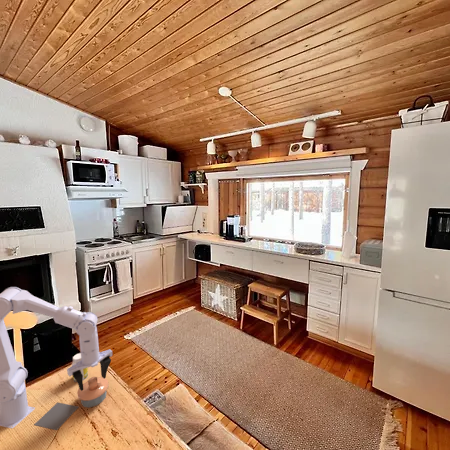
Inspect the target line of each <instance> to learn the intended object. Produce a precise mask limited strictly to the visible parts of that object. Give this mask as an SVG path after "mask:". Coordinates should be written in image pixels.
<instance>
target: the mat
mask: <svg viewBox="0 0 450 450" xmlns="http://www.w3.org/2000/svg"><path fill="white" fill-rule="evenodd" d="M78 408H79V406H78V405H77V406H76V405H72V404H68V403H62V402H56V403H55V404H54V405H52V407H51V408H50V409H49V410H48V411H47V412H45V414H43V416H41V417H40V418H39V419H38V420H37V421H36V422H35V423H34V424H33V425H34V426H37V427H41V428H45V429H50V430H53V431H58V430H59V429H60V428H61V427H62V426H63V424H65V422H66V421H67V420H68V419H69V418H70V417H71V416H72V415H73V414H74V412H76V410H77V409H78Z"/></svg>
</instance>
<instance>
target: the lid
mask: <svg viewBox="0 0 450 450" xmlns="http://www.w3.org/2000/svg"><path fill="white" fill-rule="evenodd" d="M108 388H109V380H108V379H107V378H105V379H104V378H103V377H102V376H101V377H97V376H93V377H90V378H89V379H88V380H87V381H85V382H83V390H82V391H81V390H80V388H79V387H78V389H77V397H78V399H79V400H80V401H81V400H83V401H89V400H93V399H96V398H98V397H100V396H101V395H102V394H104V393H105V392H107V390H108Z"/></svg>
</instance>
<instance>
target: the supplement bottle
mask: <svg viewBox="0 0 450 450" xmlns="http://www.w3.org/2000/svg"><path fill="white" fill-rule="evenodd" d="M80 360H81V352H79V353H76V354H75V355H74V356H72V362H71V366H73V365H75V364H76V363H77V362H79V361H80ZM88 368H89V367H88ZM88 368H84V369H82V370H80V371H81V373H82V375H83V381H84V380H86V379H87V378H88V377H89V369H88ZM72 380H73V382H75V383H77V381H76V379H75V378H74V377H73V376H72Z"/></svg>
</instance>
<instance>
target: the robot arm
mask: <svg viewBox="0 0 450 450" xmlns="http://www.w3.org/2000/svg"><path fill="white" fill-rule="evenodd" d="M11 311H12V314H13V315H15V314H18V313H21V312H25V311H30V312H32V313H33V312H34V313H36V314H37V313H38V314H40V315H44V316H47V317H50V318H52V319H53V320H54V323H55V324H59V325H62V326H64V327H67V328H70V329H73V330H74V331H75V332H76V334H77V335H78V336H79V338H78V340H79V349H80V353H81V360H80V361H79V362H77V363H76V364H75V365H73V366H72V365H71V366H69V367H68V368H67V369H66V371H67V375H68V376H69V377H71V376H72V378H73V377H74V378H75V379H76V381H77V382H76V383H77V384H78V389H79V388H80V390H81V391H82V390H83V384H84V380H83V375H82V373H81V371H80V370H82V369H84V368H95V367H97V366H98V365H100V374H101V378H104V379H107V371H108V370H109V369H108V368H109V366H110V365H111V363H112V359H111V357H112V356H113V350H111V348H110V349H107V350H104V351H100V347H99V345H100V344H99V336H98V327H97V324H98V321H99V319H98V316H97V314H96V313H94V312H91V311H87V312H86V311H83V312H82V311H80V310H77V309H74V306H71V305H69V306H67V305H63V306H61V307H59V306H57V305H55V304H53V303H50V302H48V301H45V300H44V299H41V298H39V297H37V296H34V295H33V294H32V293H30V292H29V291H28V290H25V289H21V288H19V287H17V286H10V287H7V288H5V289H4V290H3V291H2V292H1V293H0V427H4V428H8V429H14V428H15V427H16V426H17V425H19V423H21V422H22V421H23V420H24V419H26V417H28V416H29V415H30V414H31V413H32V412H34V410H35V409H36V407H33V406H30V405H29V402H28V397H27V396H28V395H27V394H28V393H27V388H26V383H25V380H27V378H28V373H29V372H28V370H27V368H25V367H24V366H23V364H22V362H21V361H17V359H16V356H15V353H14V349H13V346H12V344H11V340H10V337H9V333H8V330H7V326H6V323H5V321H4V319H5V318H6V317H7V315H9V313H11Z"/></svg>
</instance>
